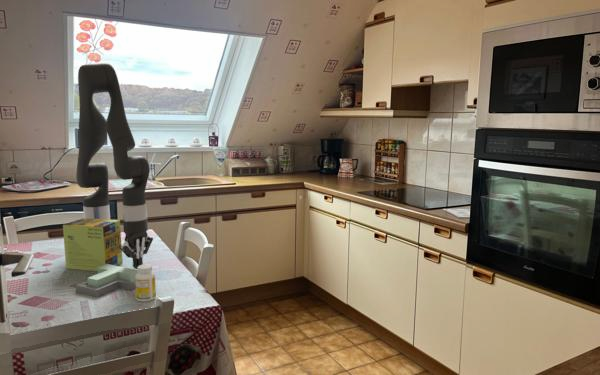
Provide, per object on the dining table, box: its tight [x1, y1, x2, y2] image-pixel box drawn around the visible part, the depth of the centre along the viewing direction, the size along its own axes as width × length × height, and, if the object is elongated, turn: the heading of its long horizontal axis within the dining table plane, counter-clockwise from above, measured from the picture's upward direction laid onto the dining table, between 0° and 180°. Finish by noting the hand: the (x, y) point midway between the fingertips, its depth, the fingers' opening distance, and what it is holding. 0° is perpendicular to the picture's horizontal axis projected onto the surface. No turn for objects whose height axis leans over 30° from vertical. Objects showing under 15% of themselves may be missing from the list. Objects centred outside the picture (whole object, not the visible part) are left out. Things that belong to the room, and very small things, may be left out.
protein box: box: [62, 217, 124, 272], centre depth 167 cm, size 10×15×16 cm
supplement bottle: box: [135, 263, 157, 303], centre depth 139 cm, size 5×5×10 cm
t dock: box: [75, 272, 136, 298], centre depth 147 cm, size 19×10×2 cm, turn 63°
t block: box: [86, 264, 138, 288], centre depth 150 cm, size 12×14×4 cm
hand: (138, 268), depth 161 cm, fingers closed
